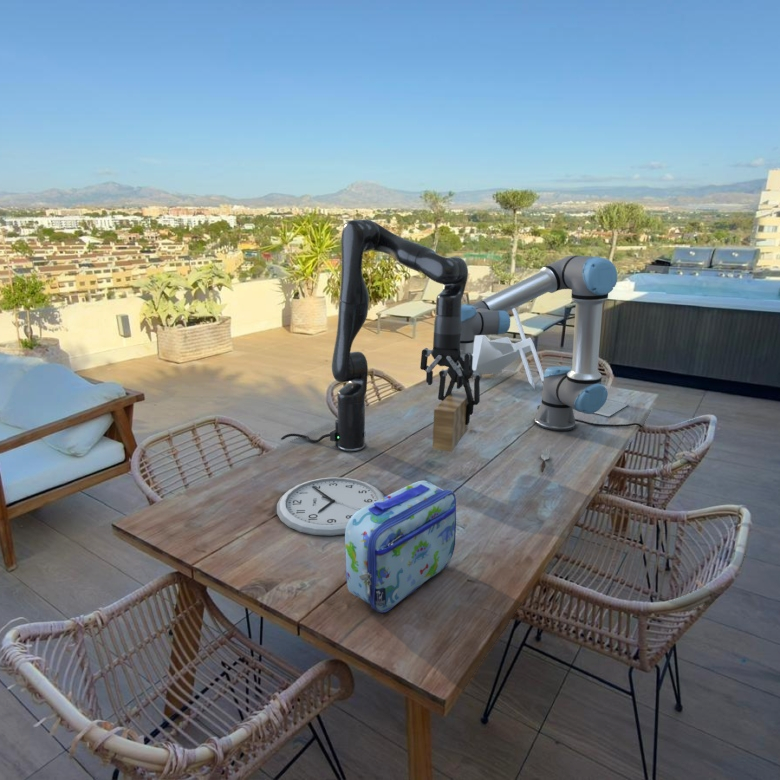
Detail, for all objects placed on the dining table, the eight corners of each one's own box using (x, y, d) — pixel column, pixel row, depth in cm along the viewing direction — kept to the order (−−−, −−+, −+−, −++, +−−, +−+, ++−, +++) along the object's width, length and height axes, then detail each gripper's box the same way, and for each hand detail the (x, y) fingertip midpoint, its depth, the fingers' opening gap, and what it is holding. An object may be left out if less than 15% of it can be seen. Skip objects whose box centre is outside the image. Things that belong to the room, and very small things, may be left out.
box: (450, 426, 179) (452, 390, 175) (468, 429, 177) (470, 393, 173) (432, 448, 161) (434, 409, 157) (451, 451, 159) (453, 412, 155)
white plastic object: (482, 418, 267) (461, 395, 242) (463, 346, 289) (443, 318, 265) (552, 394, 255) (538, 367, 230) (527, 321, 277) (512, 289, 252)
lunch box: (374, 626, 100) (375, 530, 93) (338, 598, 107) (337, 508, 101) (459, 568, 117) (465, 484, 111) (424, 547, 124) (427, 467, 118)
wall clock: (392, 527, 129) (268, 531, 127) (391, 533, 130) (269, 537, 127) (383, 473, 158) (282, 475, 155) (383, 478, 158) (282, 480, 156)
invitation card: (608, 416, 214) (573, 407, 224) (608, 416, 214) (573, 408, 224) (628, 404, 229) (594, 396, 238) (628, 405, 229) (594, 397, 238)
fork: (537, 473, 163) (538, 467, 163) (541, 453, 178) (542, 448, 177) (546, 474, 163) (546, 468, 162) (549, 454, 177) (550, 449, 176)
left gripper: (418, 330, 145) (416, 386, 150) (469, 335, 140) (465, 393, 145) (426, 326, 152) (424, 379, 157) (475, 330, 147) (471, 385, 152)
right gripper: (429, 353, 167) (426, 421, 174) (488, 360, 160) (483, 430, 167) (436, 349, 174) (433, 414, 181) (493, 354, 167) (488, 422, 174)
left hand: (444, 386), depth 151 cm, fingers open, 8 cm apart
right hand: (457, 421), depth 174 cm, fingers closed on box, 6 cm apart
